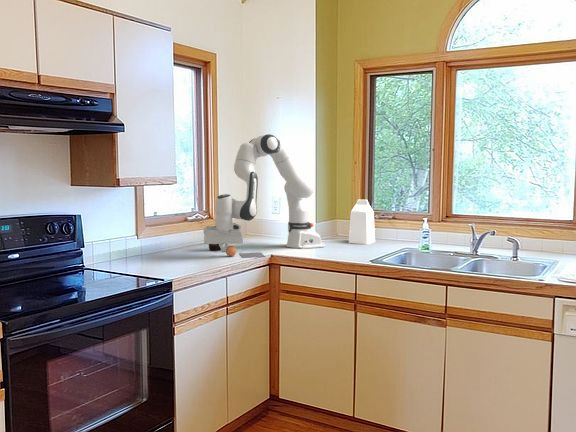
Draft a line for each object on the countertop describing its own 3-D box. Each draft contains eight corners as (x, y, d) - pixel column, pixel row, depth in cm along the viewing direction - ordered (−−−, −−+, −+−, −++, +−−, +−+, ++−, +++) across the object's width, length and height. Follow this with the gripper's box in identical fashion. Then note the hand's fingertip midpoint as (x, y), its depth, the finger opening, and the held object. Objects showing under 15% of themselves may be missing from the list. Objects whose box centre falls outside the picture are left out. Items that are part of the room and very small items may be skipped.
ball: (226, 256, 288) (236, 253, 290) (228, 258, 283) (238, 255, 284) (224, 246, 287) (234, 243, 289) (225, 248, 282) (235, 245, 283)
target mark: (261, 252, 296) (261, 252, 296) (265, 256, 284) (265, 256, 284) (239, 253, 293) (239, 253, 293) (242, 257, 282) (242, 257, 282)
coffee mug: (204, 250, 302) (204, 233, 301) (211, 248, 310) (211, 231, 309) (223, 252, 298) (223, 234, 297) (230, 249, 307) (230, 231, 305)
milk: (348, 242, 330) (349, 199, 327) (357, 240, 339) (358, 198, 337) (366, 244, 323) (367, 200, 320) (375, 242, 333) (375, 199, 330)
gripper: (204, 226, 278) (204, 253, 279) (243, 226, 283) (243, 252, 285) (202, 225, 284) (202, 251, 285) (241, 225, 289) (241, 250, 291)
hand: (223, 252), depth 285 cm, fingers closed
